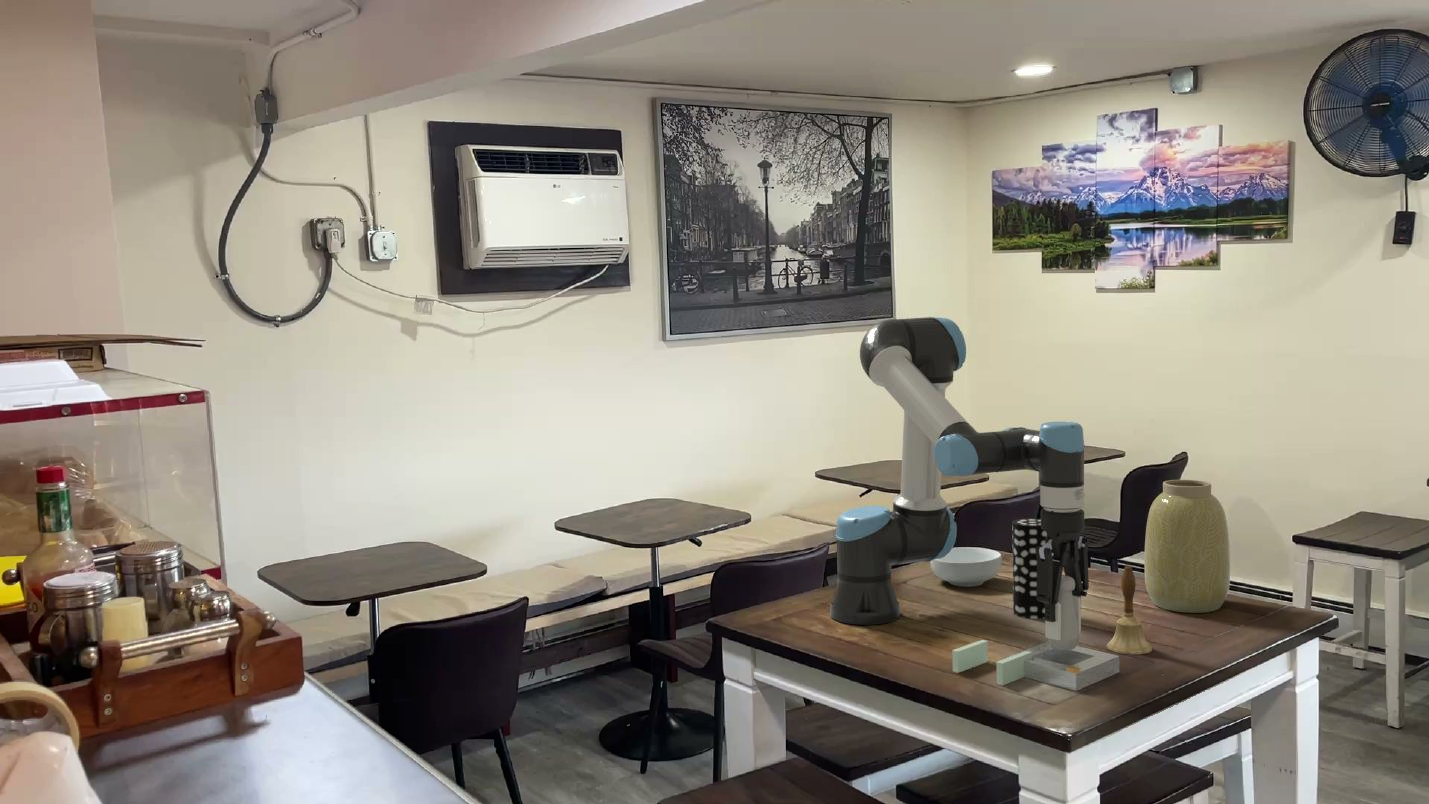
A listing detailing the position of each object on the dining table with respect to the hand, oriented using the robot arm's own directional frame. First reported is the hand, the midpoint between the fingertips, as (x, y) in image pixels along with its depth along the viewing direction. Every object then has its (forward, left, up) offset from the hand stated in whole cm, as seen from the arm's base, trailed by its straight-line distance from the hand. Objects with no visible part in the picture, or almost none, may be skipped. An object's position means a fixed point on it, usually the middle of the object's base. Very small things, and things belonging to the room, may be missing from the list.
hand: (1063, 634), depth 203 cm
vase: (-6, +57, -7) cm, 58 cm away
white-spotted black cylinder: (-26, +29, -7) cm, 40 cm away
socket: (0, 0, -7) cm, 7 cm away
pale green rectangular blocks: (-9, -9, -7) cm, 15 cm away
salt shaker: (0, 0, -3) cm, 3 cm away
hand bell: (+1, +21, -7) cm, 22 cm away
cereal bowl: (-53, +41, -7) cm, 67 cm away
